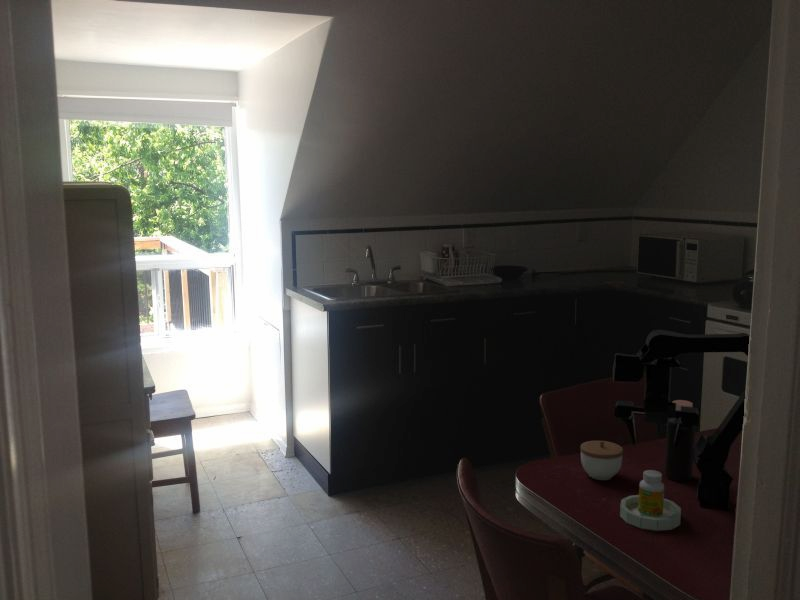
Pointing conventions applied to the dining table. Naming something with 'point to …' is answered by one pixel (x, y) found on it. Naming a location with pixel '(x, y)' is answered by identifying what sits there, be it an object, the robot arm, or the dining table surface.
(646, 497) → the supplement bottle
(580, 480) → the dining table surface
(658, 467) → the dining table surface
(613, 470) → the lidded jar
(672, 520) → the bowl
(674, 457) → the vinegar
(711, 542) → the dining table surface
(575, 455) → the dining table surface
